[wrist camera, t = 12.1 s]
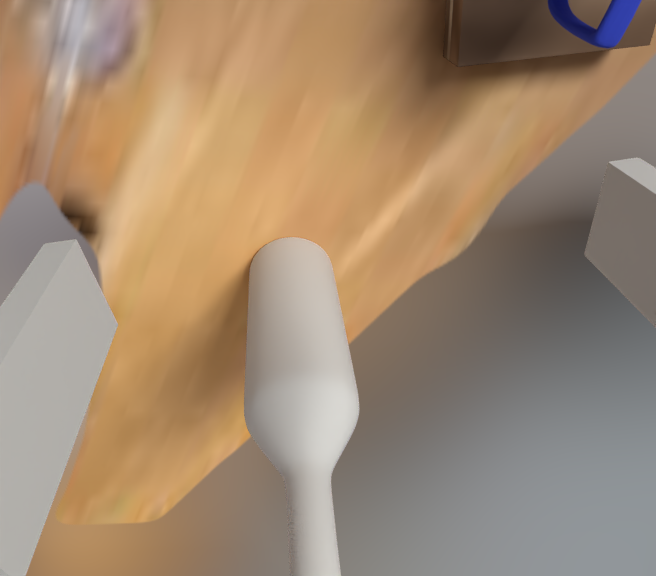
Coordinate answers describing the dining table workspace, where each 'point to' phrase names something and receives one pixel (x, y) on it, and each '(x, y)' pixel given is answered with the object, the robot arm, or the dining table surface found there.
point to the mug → (608, 29)
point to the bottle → (300, 390)
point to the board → (529, 29)
